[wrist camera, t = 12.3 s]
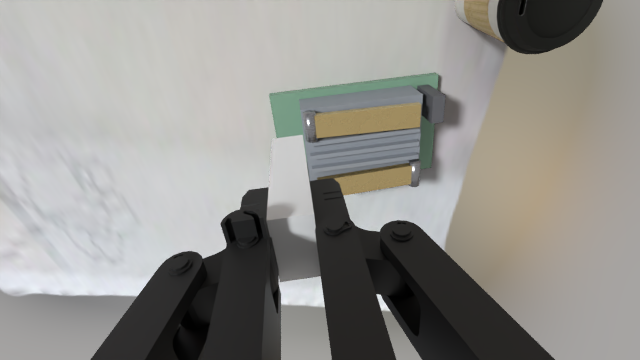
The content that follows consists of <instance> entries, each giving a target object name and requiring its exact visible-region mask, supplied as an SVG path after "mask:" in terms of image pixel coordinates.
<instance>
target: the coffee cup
mask: <svg viewBox="0 0 640 360" xmlns="http://www.w3.org/2000/svg"><path fill="white" fill-rule="evenodd" d="M602 2H603V0H455V11H456V13H457V15H458V17H459V18H460V19H461V20H462V21H463V22H465V23H467V24H470V25H471V26H472V27H474V28H476V29H477V30H480V31H482V32H484V33H486V34H488V35H490V36H492V37H494V38H496V39H498V40H500V41H502V42H504V43H505V44H507V45H508V46H509V47H510V48H511V49H513V50H515V51H517V52H519V53H524V54H539V53H544V52H548V51H550V50H553V49H555V48H558V47H561V46H563V45H565V44H567V43H569V42H570V41H572V40H574V39H575V38H576V37H577V36H579V35H580V34H581V33H582V32H583V31H584V30H585V29H586V28H587V27H588V26H589V25H590V23H591V22H592V20H593V19H594V17H595V16H596V14H597V12H598V11H599V9H600V7H601V4H602Z"/></svg>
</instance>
